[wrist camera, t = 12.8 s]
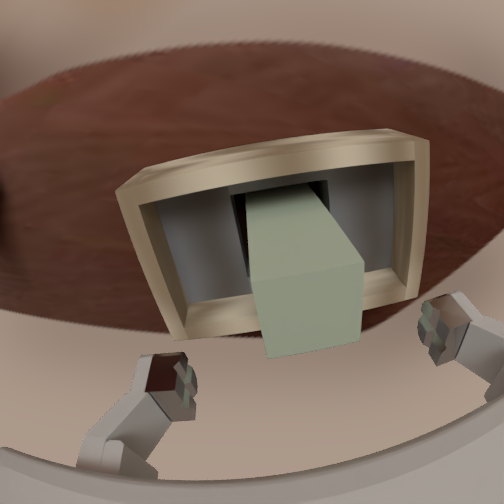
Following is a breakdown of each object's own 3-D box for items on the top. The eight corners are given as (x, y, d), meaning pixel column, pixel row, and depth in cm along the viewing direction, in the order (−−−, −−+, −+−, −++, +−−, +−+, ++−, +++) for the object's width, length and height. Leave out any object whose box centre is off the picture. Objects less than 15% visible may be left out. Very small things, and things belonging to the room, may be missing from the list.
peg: (255, 247, 21) (267, 359, 12) (245, 193, 19) (250, 282, 10) (312, 237, 21) (359, 341, 12) (306, 182, 19) (364, 261, 10)
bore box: (184, 295, 22) (174, 341, 18) (144, 168, 18) (114, 190, 13) (388, 259, 22) (417, 296, 17) (387, 128, 17) (429, 140, 12)
